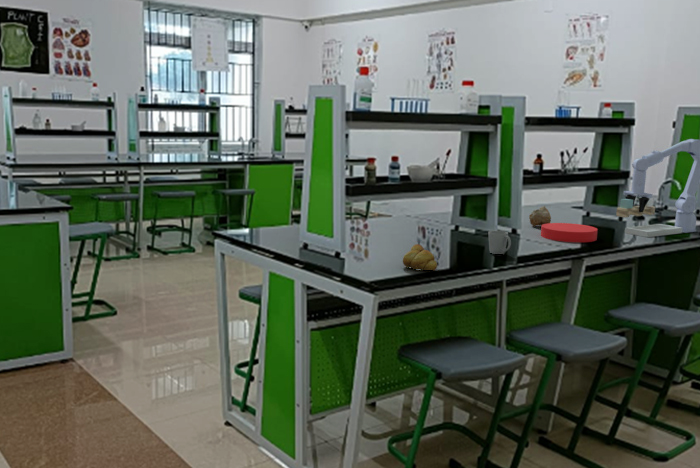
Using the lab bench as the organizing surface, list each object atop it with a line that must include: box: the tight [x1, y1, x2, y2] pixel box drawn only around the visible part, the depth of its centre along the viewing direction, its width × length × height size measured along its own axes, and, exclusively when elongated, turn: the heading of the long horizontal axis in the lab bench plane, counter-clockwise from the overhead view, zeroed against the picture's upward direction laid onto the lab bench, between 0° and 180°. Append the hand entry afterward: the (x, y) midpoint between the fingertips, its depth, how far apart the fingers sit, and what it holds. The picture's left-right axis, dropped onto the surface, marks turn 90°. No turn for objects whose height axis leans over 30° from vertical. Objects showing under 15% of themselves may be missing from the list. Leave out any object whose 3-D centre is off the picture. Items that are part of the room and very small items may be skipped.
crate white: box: [645, 197, 654, 207], centre depth 325 cm, size 4×4×4 cm
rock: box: [528, 206, 552, 227], centre depth 326 cm, size 12×10×10 cm
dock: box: [624, 223, 683, 238], centre depth 314 cm, size 26×12×2 cm, turn 121°
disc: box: [540, 222, 598, 243], centre depth 299 cm, size 24×5×24 cm
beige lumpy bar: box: [616, 205, 656, 218], centre depth 322 cm, size 22×5×4 cm, turn 121°
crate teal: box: [619, 198, 633, 209], centre depth 317 cm, size 4×4×4 cm
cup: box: [488, 230, 512, 255], centre depth 259 cm, size 8×10×8 cm
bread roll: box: [402, 243, 438, 271], centre depth 231 cm, size 13×10×8 cm
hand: (635, 211), depth 322 cm, fingers closed on beige lumpy bar, 5 cm apart
